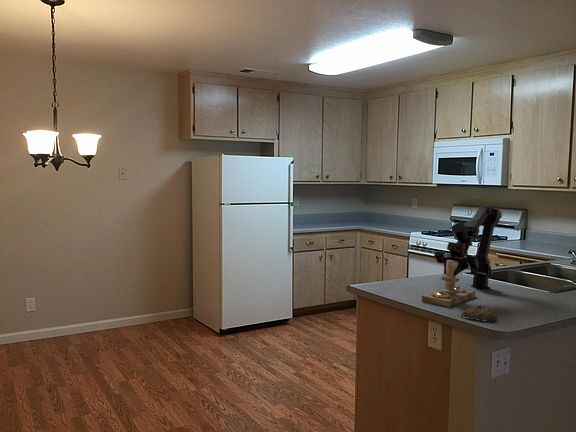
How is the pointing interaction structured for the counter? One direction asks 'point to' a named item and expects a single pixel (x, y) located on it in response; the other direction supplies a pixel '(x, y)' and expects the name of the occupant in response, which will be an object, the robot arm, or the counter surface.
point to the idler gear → (450, 275)
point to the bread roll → (480, 313)
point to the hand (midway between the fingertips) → (449, 274)
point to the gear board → (447, 302)
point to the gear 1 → (441, 294)
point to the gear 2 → (458, 289)
